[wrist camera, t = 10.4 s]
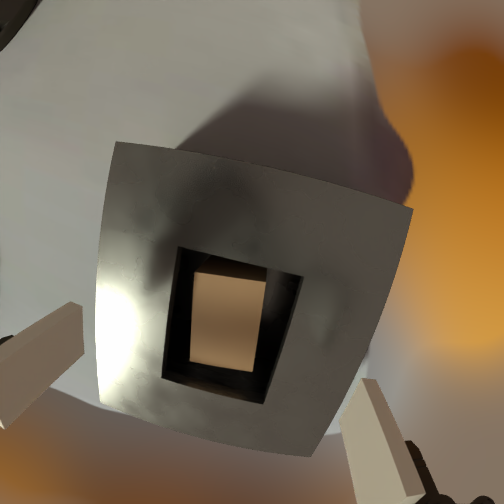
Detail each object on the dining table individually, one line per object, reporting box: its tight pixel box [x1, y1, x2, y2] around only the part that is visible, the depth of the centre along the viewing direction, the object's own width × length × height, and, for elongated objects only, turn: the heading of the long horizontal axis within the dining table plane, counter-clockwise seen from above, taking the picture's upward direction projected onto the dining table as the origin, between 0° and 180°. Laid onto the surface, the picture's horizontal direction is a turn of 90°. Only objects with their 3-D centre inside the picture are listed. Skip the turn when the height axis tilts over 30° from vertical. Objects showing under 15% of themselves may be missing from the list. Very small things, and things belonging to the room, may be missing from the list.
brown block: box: [190, 255, 267, 372], centre depth 20 cm, size 6×4×6 cm, turn 173°
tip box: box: [96, 142, 413, 457], centre depth 19 cm, size 18×16×8 cm
